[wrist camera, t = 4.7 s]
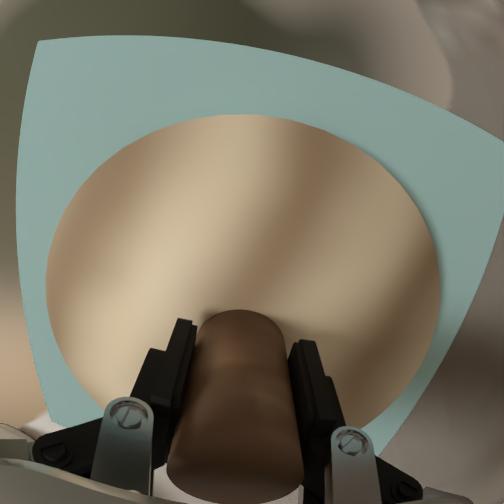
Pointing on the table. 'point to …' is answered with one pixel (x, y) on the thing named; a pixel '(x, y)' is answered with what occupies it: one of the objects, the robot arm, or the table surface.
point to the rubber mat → (237, 103)
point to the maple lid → (243, 287)
